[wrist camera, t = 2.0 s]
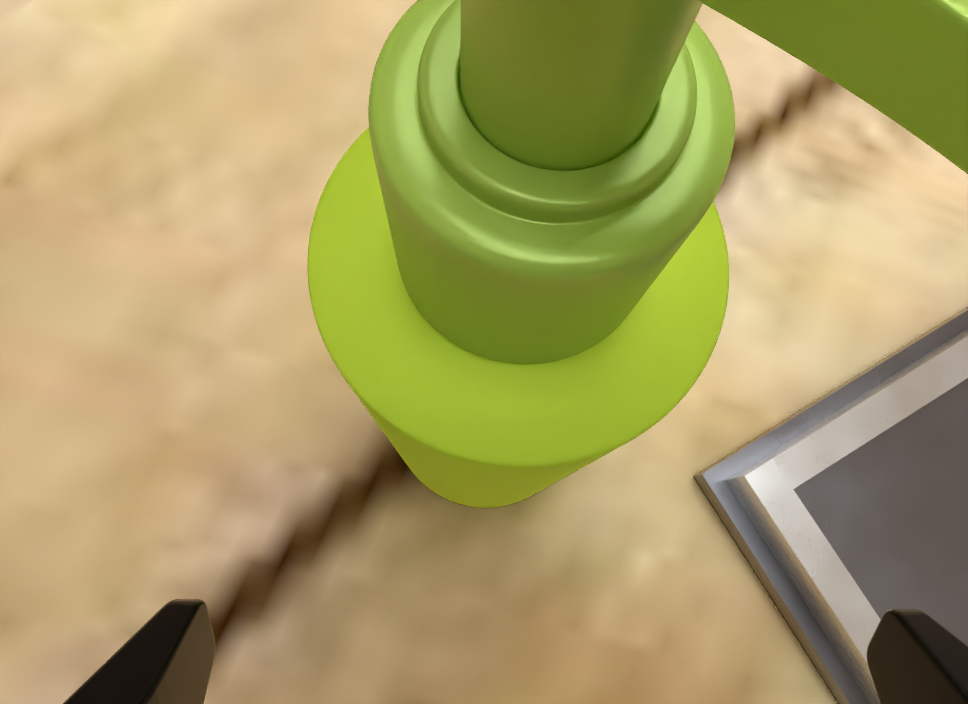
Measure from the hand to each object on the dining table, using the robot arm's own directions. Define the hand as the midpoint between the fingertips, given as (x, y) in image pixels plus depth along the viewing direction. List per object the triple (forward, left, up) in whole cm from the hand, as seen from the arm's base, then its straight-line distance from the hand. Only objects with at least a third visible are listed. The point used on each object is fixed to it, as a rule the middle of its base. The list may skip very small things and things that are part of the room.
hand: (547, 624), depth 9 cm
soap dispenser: (+4, -2, -12) cm, 13 cm away
